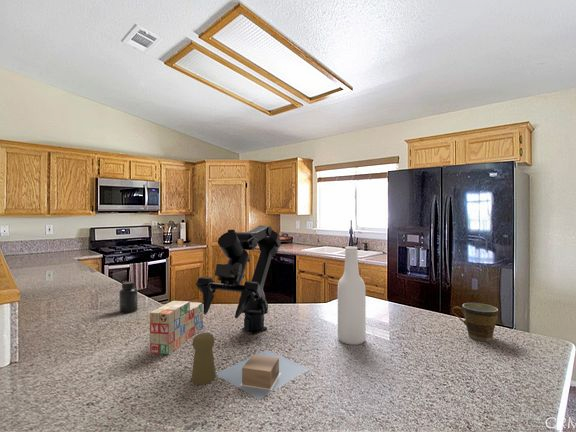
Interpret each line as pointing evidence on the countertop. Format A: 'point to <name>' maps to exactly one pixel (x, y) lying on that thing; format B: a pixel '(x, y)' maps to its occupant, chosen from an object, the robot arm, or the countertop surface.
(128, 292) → the supplement bottle
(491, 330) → the ceramic cup
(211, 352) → the olive pawn
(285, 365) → the mat
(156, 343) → the stack of blocks
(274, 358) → the walnut block
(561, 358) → the countertop surface
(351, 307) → the alcohol
